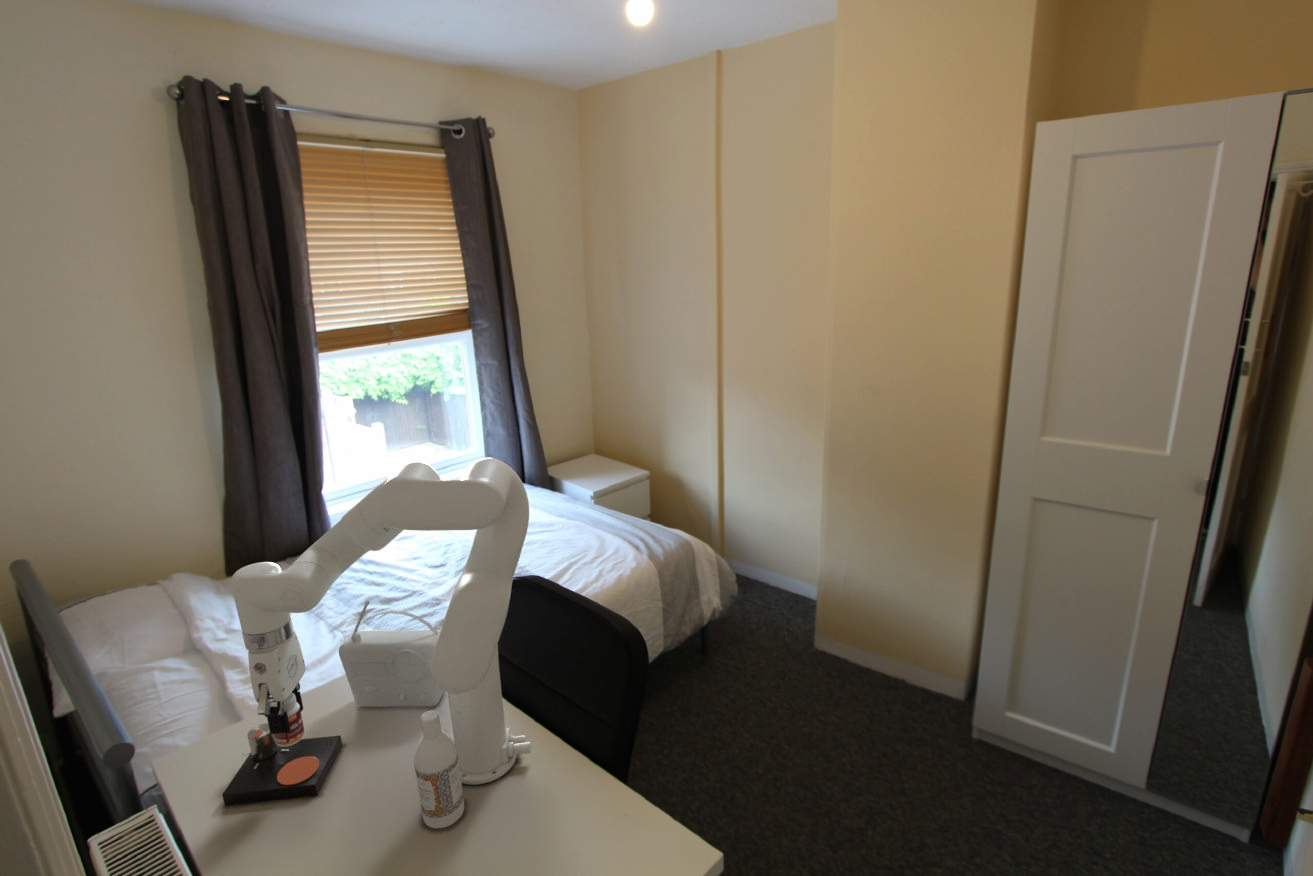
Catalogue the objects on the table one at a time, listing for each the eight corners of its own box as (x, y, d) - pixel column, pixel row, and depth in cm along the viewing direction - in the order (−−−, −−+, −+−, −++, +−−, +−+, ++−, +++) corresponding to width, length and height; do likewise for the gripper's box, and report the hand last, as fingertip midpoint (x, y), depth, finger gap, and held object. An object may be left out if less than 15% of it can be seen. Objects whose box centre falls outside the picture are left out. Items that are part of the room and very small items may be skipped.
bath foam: (414, 820, 114) (398, 722, 108) (445, 792, 119) (431, 697, 114) (443, 836, 110) (427, 735, 105) (473, 807, 116) (460, 709, 111)
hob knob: (259, 745, 130) (253, 722, 128) (282, 743, 130) (277, 720, 129) (247, 762, 125) (242, 738, 124) (272, 759, 126) (266, 736, 124)
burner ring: (325, 755, 126) (324, 754, 126) (310, 783, 120) (310, 782, 120) (286, 759, 126) (286, 758, 126) (270, 787, 119) (269, 786, 119)
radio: (343, 713, 142) (324, 609, 135) (361, 689, 150) (343, 589, 143) (443, 712, 141) (428, 607, 134) (456, 688, 149) (443, 588, 142)
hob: (345, 741, 134) (342, 730, 133) (317, 796, 120) (315, 784, 119) (255, 750, 132) (252, 739, 131) (217, 807, 118) (214, 794, 118)
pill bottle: (292, 749, 118) (284, 709, 116) (269, 746, 119) (261, 706, 117) (311, 731, 123) (303, 692, 120) (289, 728, 123) (280, 689, 121)
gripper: (268, 658, 107) (289, 753, 112) (310, 606, 124) (326, 690, 128) (220, 663, 107) (242, 757, 111) (268, 609, 123) (286, 694, 128)
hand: (287, 720), depth 120 cm, fingers closed on pill bottle, 4 cm apart
